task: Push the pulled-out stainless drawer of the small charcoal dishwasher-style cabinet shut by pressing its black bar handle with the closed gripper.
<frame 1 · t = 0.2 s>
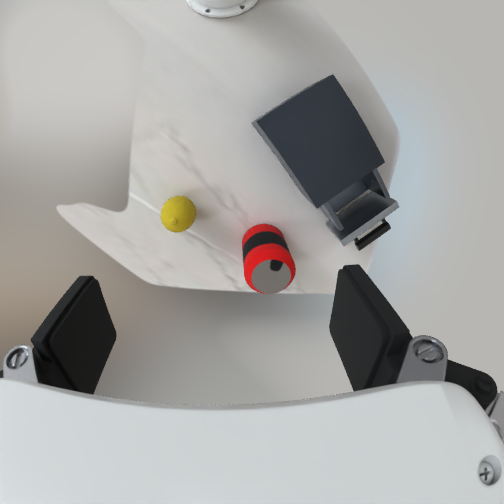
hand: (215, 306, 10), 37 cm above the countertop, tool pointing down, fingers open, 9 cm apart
cabinet: (308, 137, 42), on the countertop
soda can: (263, 242, 50), on the countertop
drawer: (350, 196, 42), point 5 cm above the countertop, slide at 7.0 cm
lemon: (182, 206, 46), on the countertop
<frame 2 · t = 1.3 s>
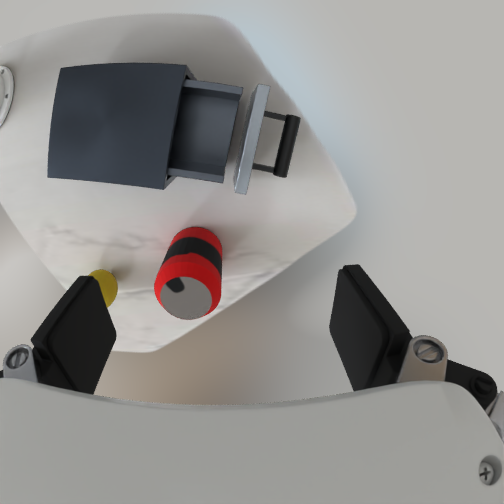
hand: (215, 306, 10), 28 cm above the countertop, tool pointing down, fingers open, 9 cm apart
cabinet: (135, 121, 30), on the countertop
soda can: (196, 250, 39), on the countertop
drawer: (213, 131, 28), point 5 cm above the countertop, slide at 7.0 cm
lemon: (108, 275, 40), on the countertop
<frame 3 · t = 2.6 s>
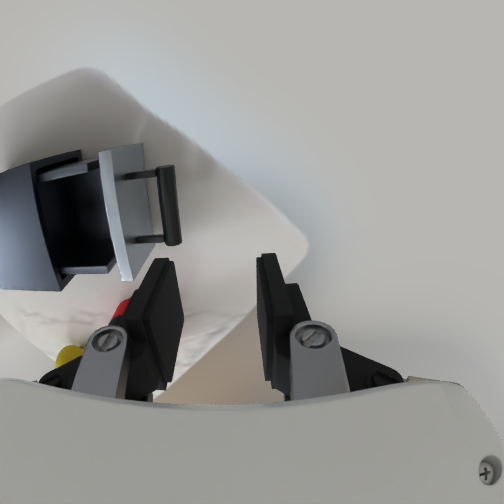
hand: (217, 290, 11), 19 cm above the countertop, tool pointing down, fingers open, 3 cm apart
cabinet: (45, 208, 27), on the countertop
drawer: (94, 210, 23), point 5 cm above the countertop, slide at 7.0 cm
lemon: (80, 347, 38), on the countertop
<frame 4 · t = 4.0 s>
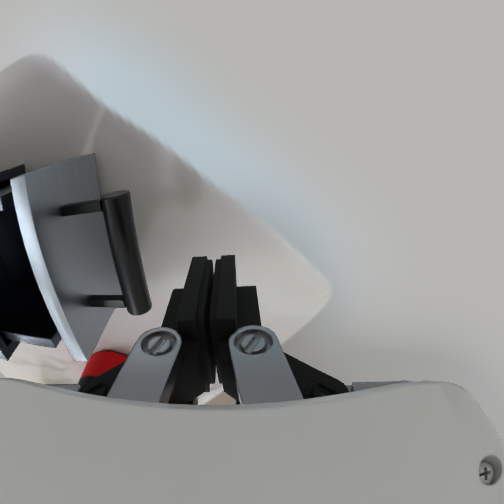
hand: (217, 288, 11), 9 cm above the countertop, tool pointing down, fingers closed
soda can: (119, 370, 26), on the countertop
drawer: (34, 254, 14), point 5 cm above the countertop, slide at 7.0 cm
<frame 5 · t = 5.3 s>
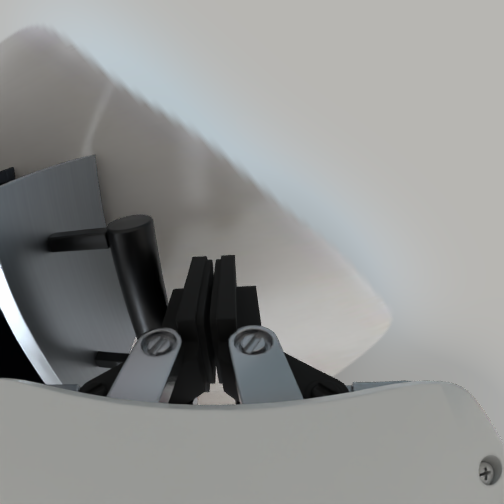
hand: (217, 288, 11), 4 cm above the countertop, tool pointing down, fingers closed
drawer: (19, 293, 10), point 5 cm above the countertop, slide at 6.1 cm, touching gripper
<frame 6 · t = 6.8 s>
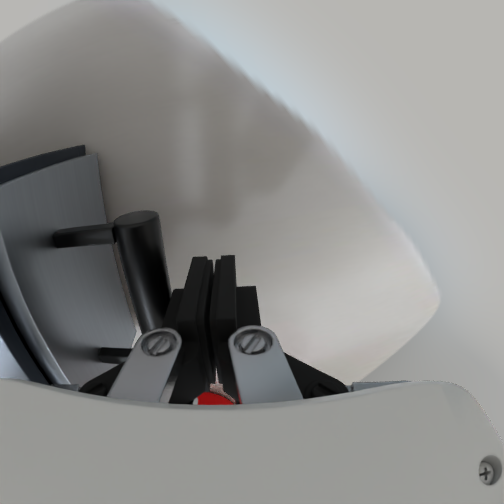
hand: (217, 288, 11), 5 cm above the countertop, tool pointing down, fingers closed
cabinet: (22, 255, 14), on the countertop
soda can: (198, 408, 23), on the countertop
drawer: (21, 291, 10), point 5 cm above the countertop, slide at 0.0 cm, touching cabinet, gripper
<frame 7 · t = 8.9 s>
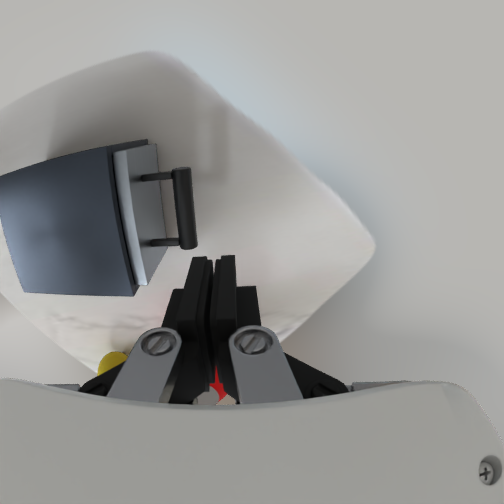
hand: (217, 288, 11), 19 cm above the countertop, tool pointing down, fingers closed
cabinet: (96, 202, 28), on the countertop
soda can: (202, 321, 35), on the countertop
drawer: (107, 212, 23), point 5 cm above the countertop, slide at 0.0 cm, touching cabinet
lemon: (123, 353, 38), on the countertop
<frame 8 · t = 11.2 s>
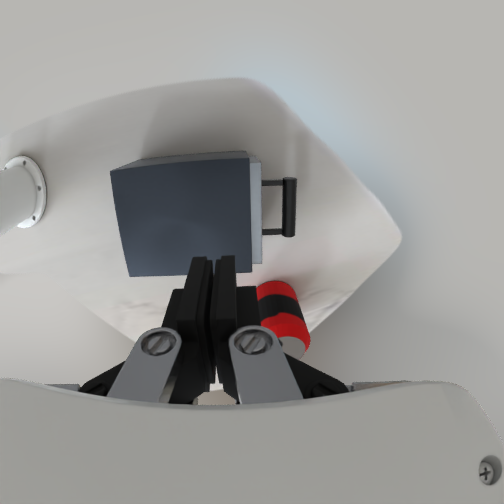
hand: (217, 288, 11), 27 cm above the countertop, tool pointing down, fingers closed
cabinet: (193, 199, 37), on the countertop
soda can: (272, 298, 45), on the countertop
drawer: (220, 207, 32), point 5 cm above the countertop, slide at 0.0 cm, touching cabinet
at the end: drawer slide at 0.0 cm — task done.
